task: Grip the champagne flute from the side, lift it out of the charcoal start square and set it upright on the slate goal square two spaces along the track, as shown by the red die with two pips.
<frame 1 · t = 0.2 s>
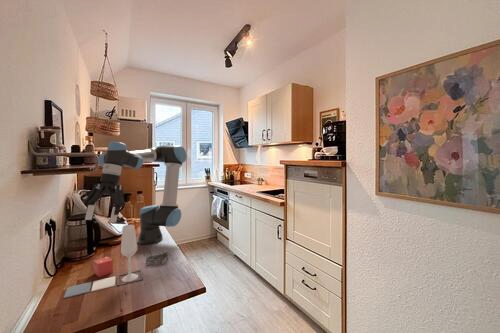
hand: (100, 221, 99), 27 cm above the counter, tool tilted 15°, fingers open, 13 cm apart
egg carton: (157, 262, 119), on the counter
red die: (103, 272, 108), on the counter
champagne flute: (130, 278, 103), resting on game track
game track: (104, 284, 98), on the counter
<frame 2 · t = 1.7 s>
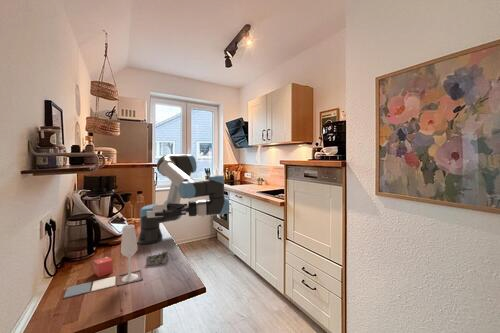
hand: (149, 211, 104), 30 cm above the counter, tool horizontal, fingers open, 13 cm apart
nothing on the counter moved.
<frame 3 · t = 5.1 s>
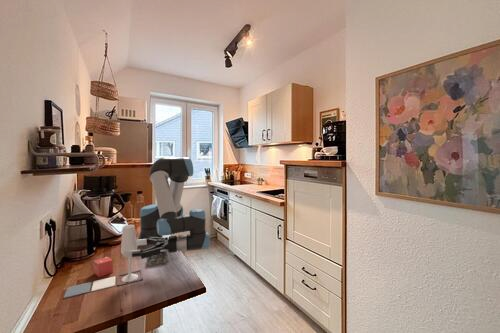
hand: (128, 248, 102), 14 cm above the counter, tool horizontal, fingers open, 13 cm apart
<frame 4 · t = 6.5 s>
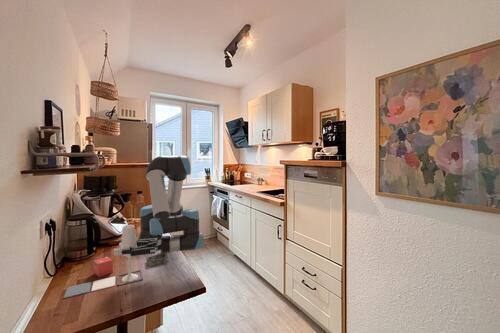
hand: (116, 249, 101), 14 cm above the counter, tool horizontal, fingers closed on champagne flute, 7 cm apart
champagne flute: (130, 278, 103), resting on game track, touching gripper
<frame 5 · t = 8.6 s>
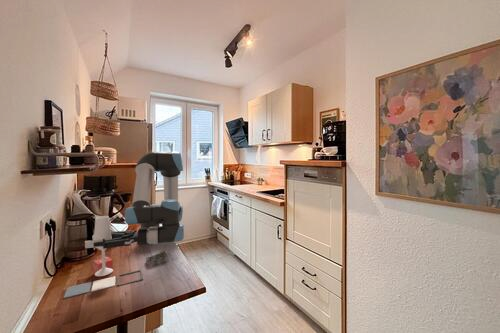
hand: (89, 241, 95), 20 cm above the counter, tool horizontal, fingers closed on champagne flute, 7 cm apart
champagne flute: (104, 272, 97), point 6 cm above the counter, touching gripper
when the fingers open (16 cm above the counter, at t = 10.6 s): champagne flute drops 1 cm, resting on game track.
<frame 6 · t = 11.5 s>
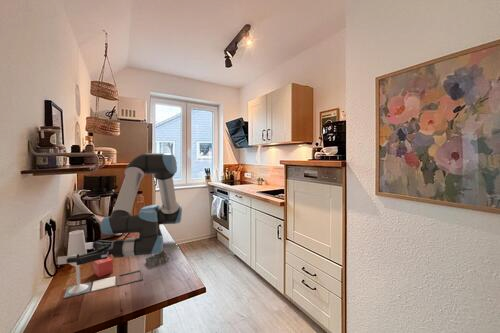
hand: (67, 253, 92), 16 cm above the counter, tool horizontal, fingers open, 13 cm apart
champagne flute: (78, 289, 93), resting on game track
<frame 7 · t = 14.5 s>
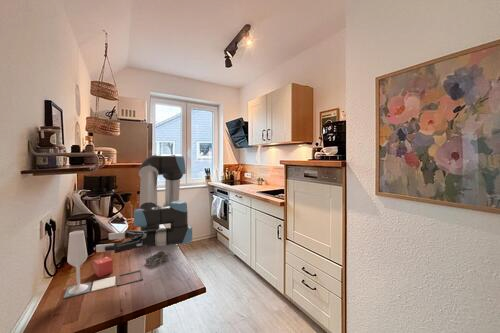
hand: (103, 242, 95), 19 cm above the counter, tool horizontal, fingers open, 13 cm apart
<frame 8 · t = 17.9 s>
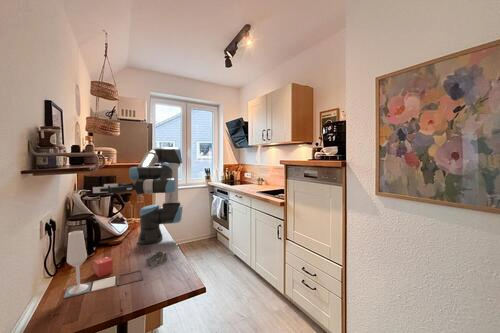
hand: (98, 188, 113), 40 cm above the counter, tool horizontal, fingers open, 13 cm apart
at the end: champagne flute inside the target area (0.1 cm from its centre), resting on game track; champagne flute tilted 1°; the gripper is holding nothing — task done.
